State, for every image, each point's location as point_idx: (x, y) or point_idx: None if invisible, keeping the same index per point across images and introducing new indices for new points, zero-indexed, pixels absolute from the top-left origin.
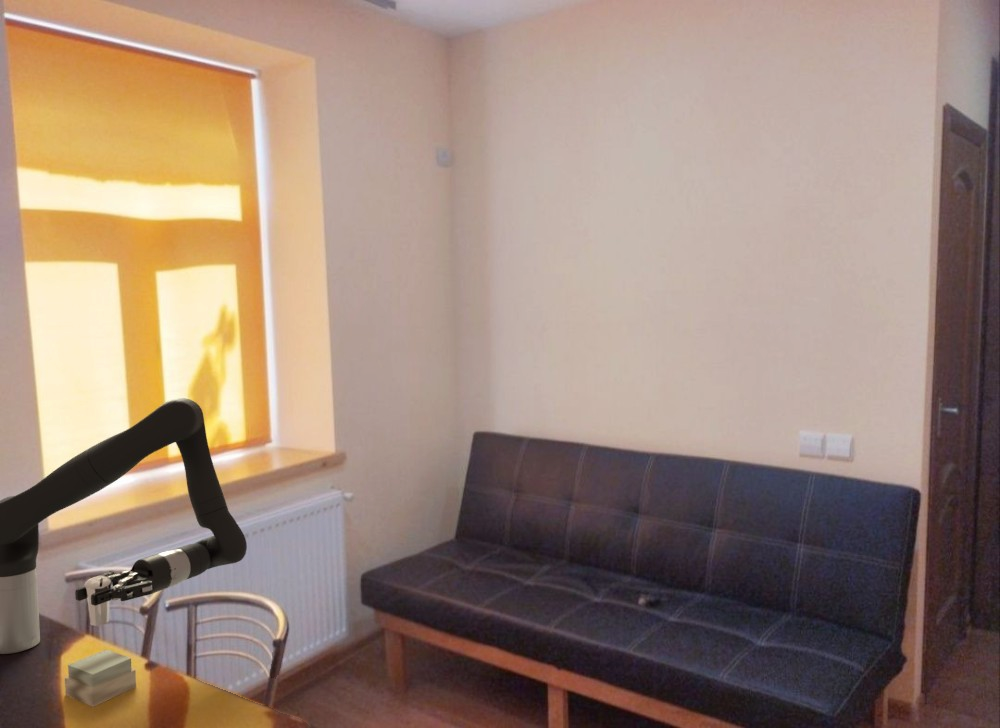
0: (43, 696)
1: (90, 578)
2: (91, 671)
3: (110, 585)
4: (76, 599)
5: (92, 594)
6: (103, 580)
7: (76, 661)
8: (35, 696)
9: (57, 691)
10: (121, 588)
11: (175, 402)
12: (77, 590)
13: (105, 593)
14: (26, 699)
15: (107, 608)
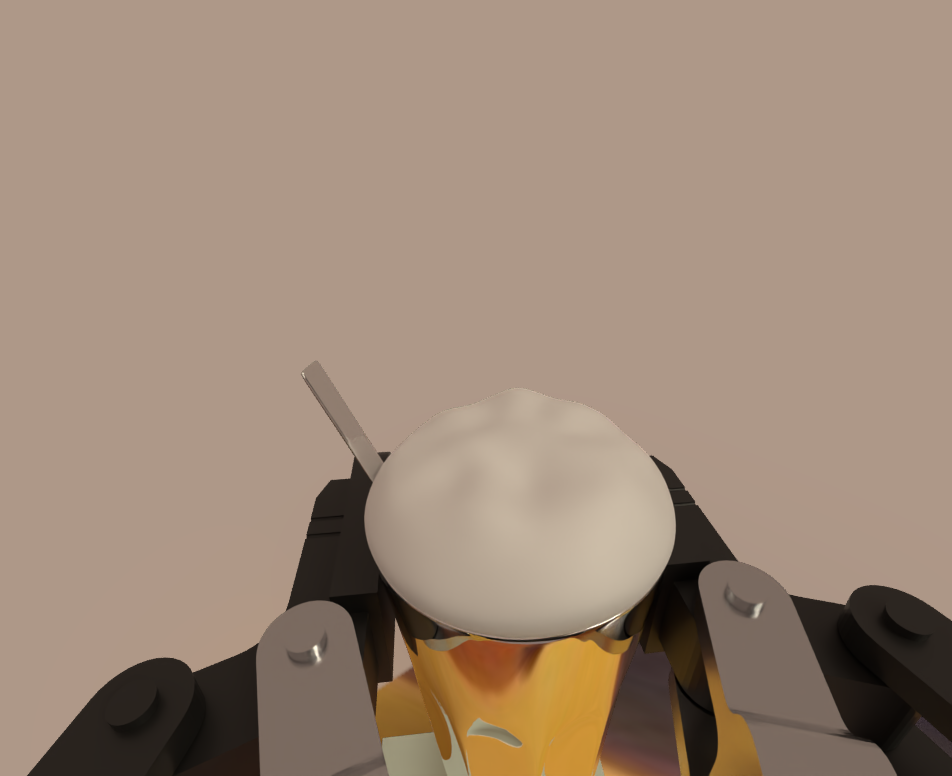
0: (630, 707)
1: (570, 403)
2: (419, 752)
3: (435, 642)
4: None
5: (382, 452)
6: (413, 473)
7: (600, 763)
8: (649, 689)
9: (641, 765)
10: (156, 679)
11: None
12: None
13: (326, 547)
14: (643, 660)
15: (440, 737)
